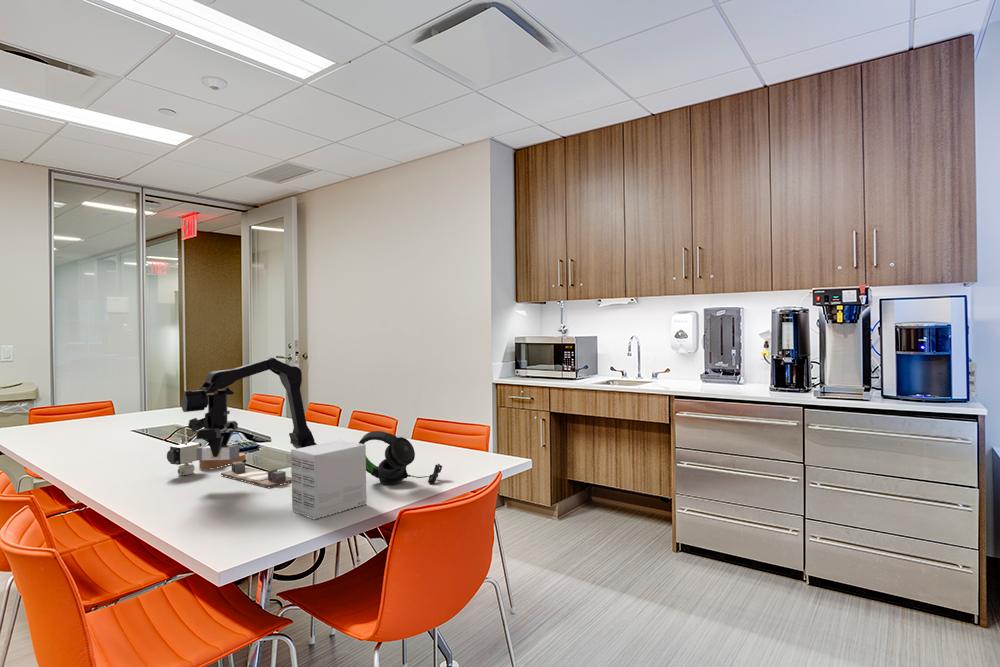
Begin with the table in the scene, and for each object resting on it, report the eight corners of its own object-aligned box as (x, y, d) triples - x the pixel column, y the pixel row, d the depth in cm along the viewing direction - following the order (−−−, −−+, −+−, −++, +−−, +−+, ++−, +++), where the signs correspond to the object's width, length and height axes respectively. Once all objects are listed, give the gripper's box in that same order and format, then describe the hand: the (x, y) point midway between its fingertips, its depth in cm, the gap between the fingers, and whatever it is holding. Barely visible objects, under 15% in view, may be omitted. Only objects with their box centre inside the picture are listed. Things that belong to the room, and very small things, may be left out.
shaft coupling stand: (295, 481, 189) (295, 469, 189) (268, 488, 180) (268, 475, 180) (247, 469, 206) (247, 458, 206) (221, 475, 198) (220, 464, 198)
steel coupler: (239, 456, 185) (239, 444, 185) (234, 459, 181) (234, 447, 181) (202, 457, 184) (202, 445, 184) (196, 460, 180) (196, 448, 180)
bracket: (208, 470, 206) (208, 452, 206) (194, 468, 210) (194, 450, 210) (249, 460, 222) (249, 443, 222) (236, 458, 226) (236, 442, 226)
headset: (420, 509, 183) (345, 469, 184) (435, 482, 195) (364, 444, 196) (437, 475, 174) (358, 433, 175) (452, 449, 186) (377, 409, 187)
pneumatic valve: (205, 471, 205) (204, 439, 204) (175, 479, 194) (174, 445, 194) (195, 469, 207) (194, 438, 207) (165, 477, 196) (164, 444, 196)
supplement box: (341, 496, 170) (340, 439, 170) (367, 504, 162) (367, 444, 162) (290, 511, 157) (289, 448, 157) (315, 520, 148) (314, 454, 148)
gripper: (205, 405, 191) (205, 450, 191) (178, 413, 172) (179, 462, 172) (238, 405, 192) (238, 449, 192) (215, 412, 173) (216, 461, 173)
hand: (218, 455), depth 182 cm, fingers closed on steel coupler, 4 cm apart
